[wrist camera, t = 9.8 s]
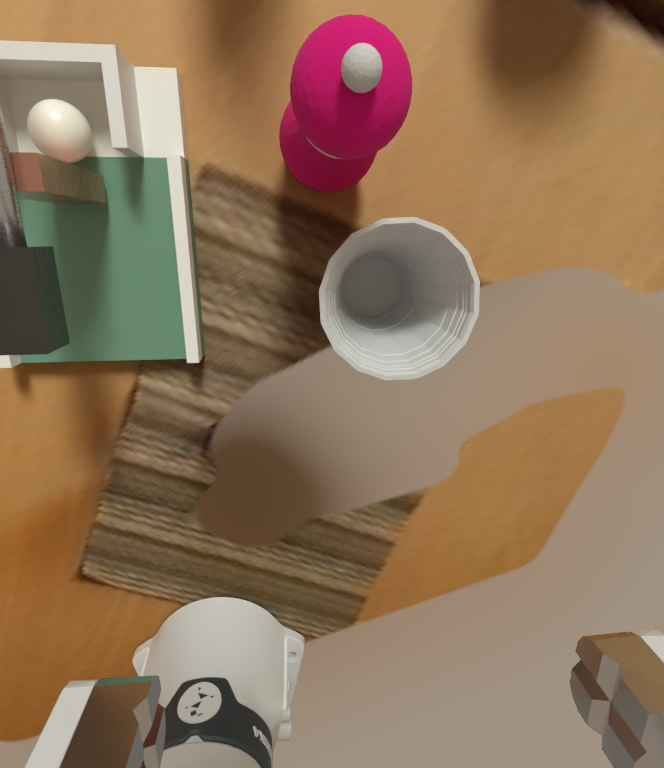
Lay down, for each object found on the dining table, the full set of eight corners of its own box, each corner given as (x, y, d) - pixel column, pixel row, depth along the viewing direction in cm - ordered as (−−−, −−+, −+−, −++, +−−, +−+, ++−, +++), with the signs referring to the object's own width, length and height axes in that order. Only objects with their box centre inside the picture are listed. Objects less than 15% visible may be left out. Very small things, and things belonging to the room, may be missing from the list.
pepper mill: (321, 215, 39) (356, 195, 20) (261, 144, 37) (238, 48, 18) (385, 154, 38) (484, 72, 19) (327, 78, 36) (375, -97, 17)
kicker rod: (122, 320, 38) (56, 354, 27) (72, 321, 38) (-17, 355, 27) (76, -13, 31) (-39, -152, 20) (14, -16, 31) (-138, -159, 20)
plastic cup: (349, 196, 39) (376, 179, 28) (450, 263, 42) (513, 272, 30) (286, 307, 41) (288, 334, 30) (386, 364, 44) (422, 408, 33)
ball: (74, 90, 30) (97, 110, 34) (9, 88, 30) (41, 109, 34) (82, 156, 31) (104, 169, 35) (20, 155, 31) (49, 168, 35)
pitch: (204, 354, 42) (193, 370, 37) (18, 358, 40) (-21, 376, 35) (180, 75, 35) (162, 46, 30) (-44, 67, 34) (-104, 36, 29)
